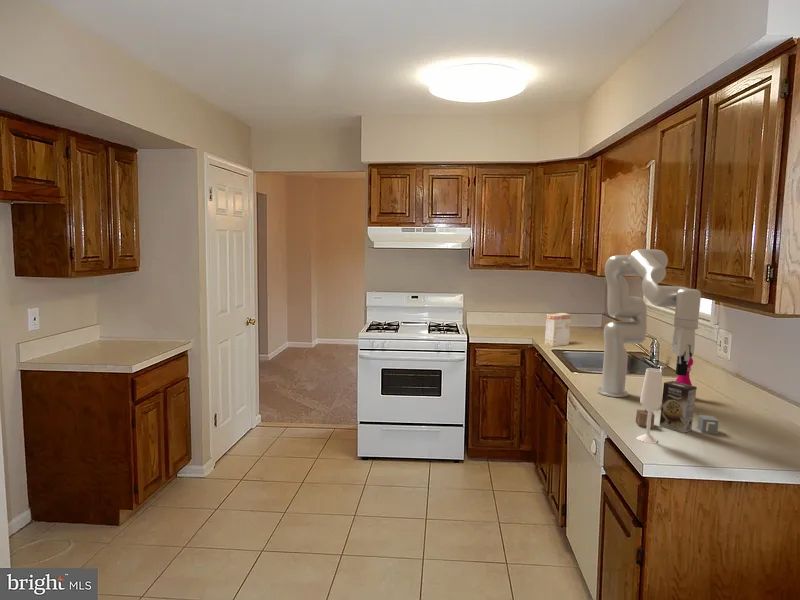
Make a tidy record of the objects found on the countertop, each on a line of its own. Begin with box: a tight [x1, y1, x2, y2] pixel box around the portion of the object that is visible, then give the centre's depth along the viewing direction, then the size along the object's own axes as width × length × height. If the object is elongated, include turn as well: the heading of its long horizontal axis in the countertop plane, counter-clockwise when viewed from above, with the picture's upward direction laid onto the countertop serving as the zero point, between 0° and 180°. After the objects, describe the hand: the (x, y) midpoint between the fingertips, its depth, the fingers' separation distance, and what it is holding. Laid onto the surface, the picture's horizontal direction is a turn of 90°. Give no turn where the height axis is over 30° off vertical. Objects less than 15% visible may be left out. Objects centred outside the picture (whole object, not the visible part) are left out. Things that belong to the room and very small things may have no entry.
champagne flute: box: [636, 367, 663, 444], centre depth 186 cm, size 7×7×24 cm
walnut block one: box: [635, 408, 655, 429], centre depth 202 cm, size 5×5×6 cm
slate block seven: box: [696, 414, 720, 435], centre depth 198 cm, size 5×5×5 cm
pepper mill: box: [675, 357, 694, 386], centre depth 240 cm, size 7×7×20 cm
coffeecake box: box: [544, 312, 572, 347], centre depth 347 cm, size 15×7×20 cm, turn 123°
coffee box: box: [659, 380, 698, 434], centre depth 200 cm, size 9×6×16 cm
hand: (681, 374), depth 199 cm, fingers closed
